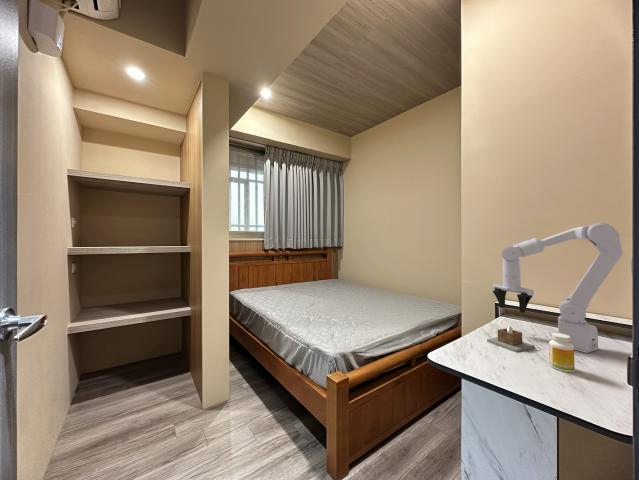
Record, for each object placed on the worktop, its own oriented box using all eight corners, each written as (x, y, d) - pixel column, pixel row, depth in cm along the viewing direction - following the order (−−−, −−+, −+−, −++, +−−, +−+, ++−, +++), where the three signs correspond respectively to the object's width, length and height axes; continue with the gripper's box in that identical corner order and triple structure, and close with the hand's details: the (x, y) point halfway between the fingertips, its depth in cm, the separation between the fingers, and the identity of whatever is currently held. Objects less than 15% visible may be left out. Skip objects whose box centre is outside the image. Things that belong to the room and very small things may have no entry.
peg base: (534, 347, 89) (534, 328, 89) (515, 352, 85) (515, 332, 85) (505, 337, 98) (504, 320, 98) (487, 341, 95) (486, 323, 95)
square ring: (522, 343, 90) (522, 332, 90) (512, 346, 88) (512, 334, 88) (507, 338, 95) (507, 328, 95) (497, 340, 93) (497, 329, 93)
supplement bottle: (580, 373, 71) (579, 339, 71) (557, 372, 72) (557, 338, 72) (565, 364, 77) (564, 332, 77) (545, 363, 78) (544, 331, 78)
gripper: (486, 274, 107) (487, 306, 107) (524, 279, 93) (525, 315, 93) (498, 273, 109) (499, 305, 109) (537, 277, 96) (537, 313, 96)
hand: (512, 309), depth 101 cm, fingers open, 7 cm apart
